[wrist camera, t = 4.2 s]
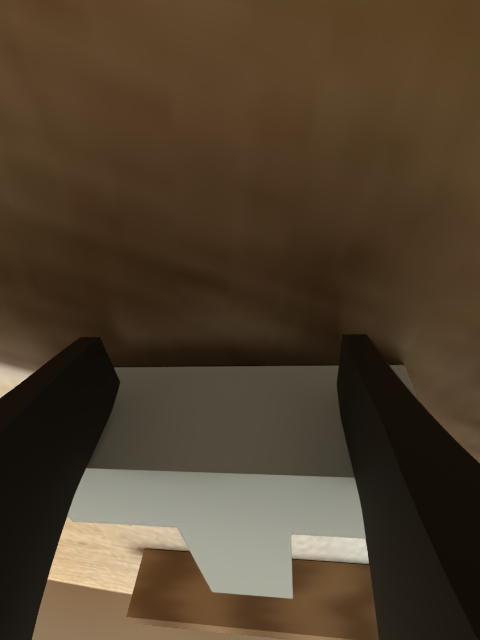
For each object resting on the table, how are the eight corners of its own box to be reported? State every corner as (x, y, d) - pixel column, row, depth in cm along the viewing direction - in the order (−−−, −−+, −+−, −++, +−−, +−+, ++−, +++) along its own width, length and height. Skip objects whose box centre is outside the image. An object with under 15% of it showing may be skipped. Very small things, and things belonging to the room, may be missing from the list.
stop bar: (390, 566, 24) (407, 645, 20) (385, 575, 25) (400, 650, 22) (144, 548, 26) (126, 616, 23) (151, 558, 27) (134, 623, 24)
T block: (404, 365, 12) (450, 480, 8) (362, 514, 19) (379, 606, 16) (79, 367, 13) (18, 466, 10) (157, 504, 20) (136, 585, 17)
